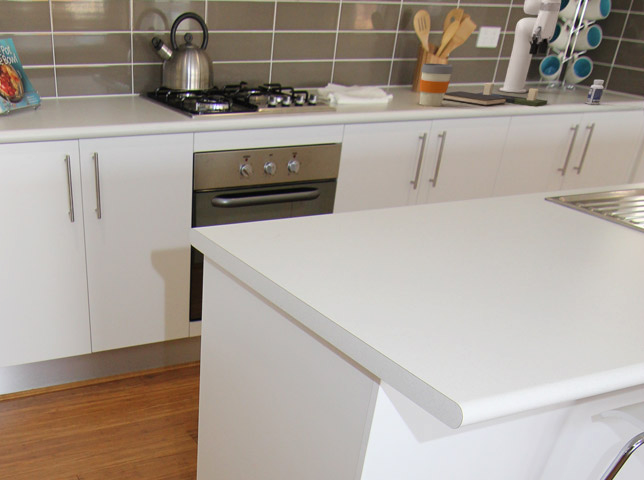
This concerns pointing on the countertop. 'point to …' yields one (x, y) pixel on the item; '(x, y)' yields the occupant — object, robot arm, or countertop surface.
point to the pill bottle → (595, 92)
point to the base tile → (510, 98)
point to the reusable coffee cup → (434, 83)
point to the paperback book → (474, 98)
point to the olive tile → (527, 102)
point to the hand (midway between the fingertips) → (537, 53)
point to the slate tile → (489, 90)
